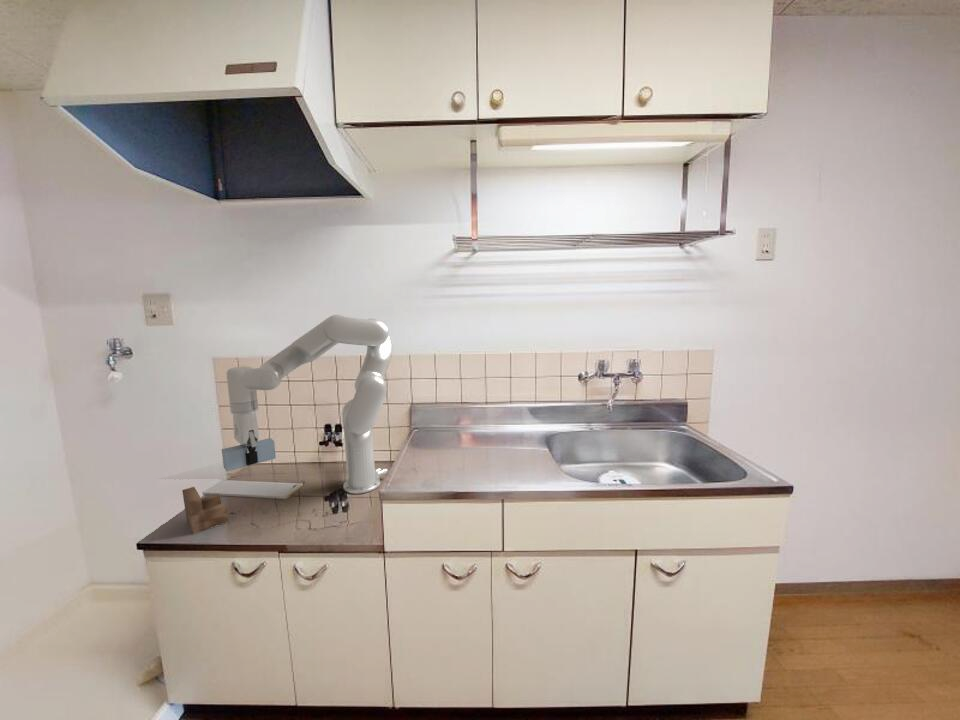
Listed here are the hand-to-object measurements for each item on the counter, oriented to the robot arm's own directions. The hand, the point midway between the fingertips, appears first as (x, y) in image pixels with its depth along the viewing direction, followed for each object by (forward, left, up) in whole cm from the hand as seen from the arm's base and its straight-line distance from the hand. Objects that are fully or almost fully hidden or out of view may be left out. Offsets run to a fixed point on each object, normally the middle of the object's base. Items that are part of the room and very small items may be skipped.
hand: (250, 461), depth 129 cm
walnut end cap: (+13, -1, -15) cm, 20 cm away
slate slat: (0, 0, -1) cm, 1 cm away
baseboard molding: (-4, -13, -16) cm, 21 cm away
